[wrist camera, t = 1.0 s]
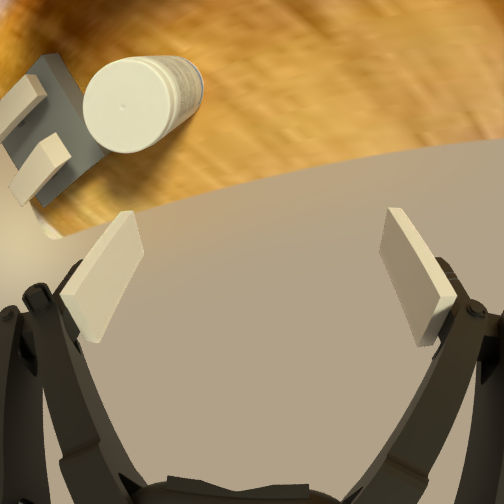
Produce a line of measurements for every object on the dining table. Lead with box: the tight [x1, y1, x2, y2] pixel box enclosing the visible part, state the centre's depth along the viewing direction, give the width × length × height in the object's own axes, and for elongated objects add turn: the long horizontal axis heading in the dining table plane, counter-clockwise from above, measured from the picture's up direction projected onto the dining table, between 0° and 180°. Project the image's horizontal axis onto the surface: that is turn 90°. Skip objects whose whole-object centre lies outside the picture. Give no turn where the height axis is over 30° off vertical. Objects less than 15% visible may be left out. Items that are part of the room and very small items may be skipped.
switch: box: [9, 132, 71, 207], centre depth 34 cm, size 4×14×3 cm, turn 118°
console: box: [2, 53, 112, 208], centre depth 36 cm, size 19×16×7 cm
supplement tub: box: [83, 56, 204, 153], centre depth 30 cm, size 10×10×15 cm
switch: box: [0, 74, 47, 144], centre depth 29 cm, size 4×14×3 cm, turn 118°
